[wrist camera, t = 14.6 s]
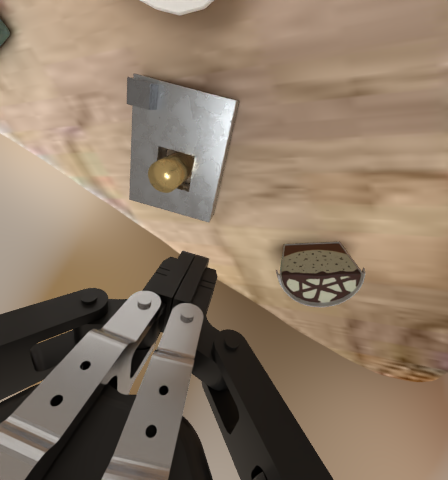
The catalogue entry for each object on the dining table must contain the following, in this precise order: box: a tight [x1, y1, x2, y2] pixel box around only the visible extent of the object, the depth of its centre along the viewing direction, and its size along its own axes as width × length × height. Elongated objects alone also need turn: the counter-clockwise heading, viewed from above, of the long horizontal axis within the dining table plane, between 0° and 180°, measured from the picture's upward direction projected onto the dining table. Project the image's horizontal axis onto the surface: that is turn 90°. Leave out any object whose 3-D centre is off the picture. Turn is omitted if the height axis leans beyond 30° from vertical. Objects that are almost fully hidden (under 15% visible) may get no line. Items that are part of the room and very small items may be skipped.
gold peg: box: [148, 152, 194, 193], centre depth 37 cm, size 4×4×8 cm
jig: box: [127, 74, 239, 222], centre depth 37 cm, size 18×14×6 cm
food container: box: [276, 242, 365, 307], centre depth 40 cm, size 12×6×10 cm, turn 98°
